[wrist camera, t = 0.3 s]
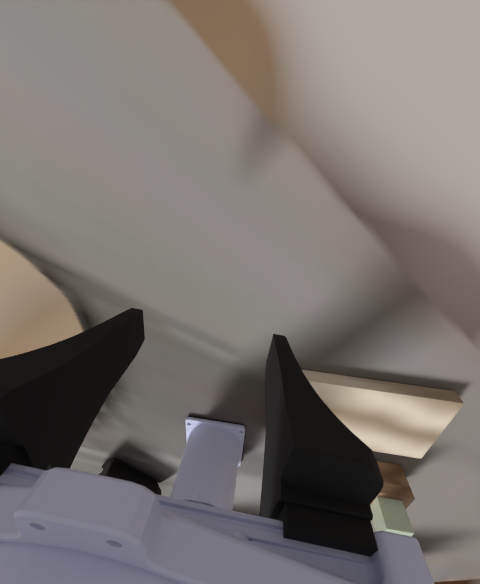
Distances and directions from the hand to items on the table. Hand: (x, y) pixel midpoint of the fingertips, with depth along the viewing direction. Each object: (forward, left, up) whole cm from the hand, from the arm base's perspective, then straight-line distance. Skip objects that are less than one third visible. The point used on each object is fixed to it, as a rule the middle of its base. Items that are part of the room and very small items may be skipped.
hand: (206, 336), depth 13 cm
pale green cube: (-28, -22, -6) cm, 36 cm away
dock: (-16, -15, -10) cm, 24 cm away
